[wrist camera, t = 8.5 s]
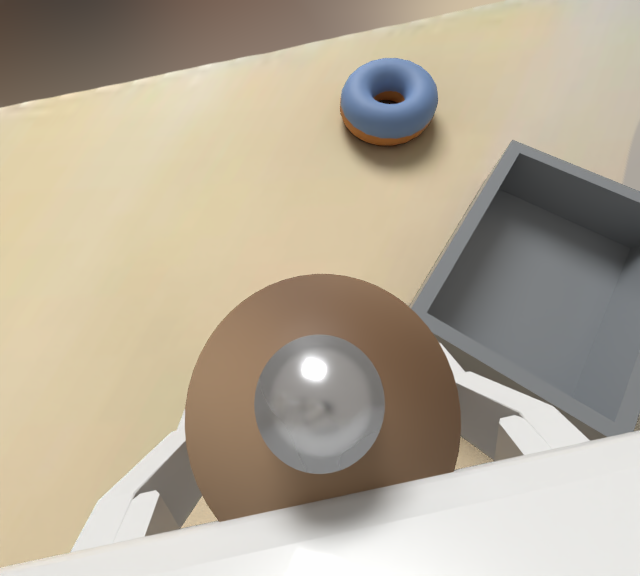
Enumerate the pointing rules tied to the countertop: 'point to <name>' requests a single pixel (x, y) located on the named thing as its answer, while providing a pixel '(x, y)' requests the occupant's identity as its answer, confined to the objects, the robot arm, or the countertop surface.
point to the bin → (546, 289)
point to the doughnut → (388, 84)
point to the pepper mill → (318, 398)
